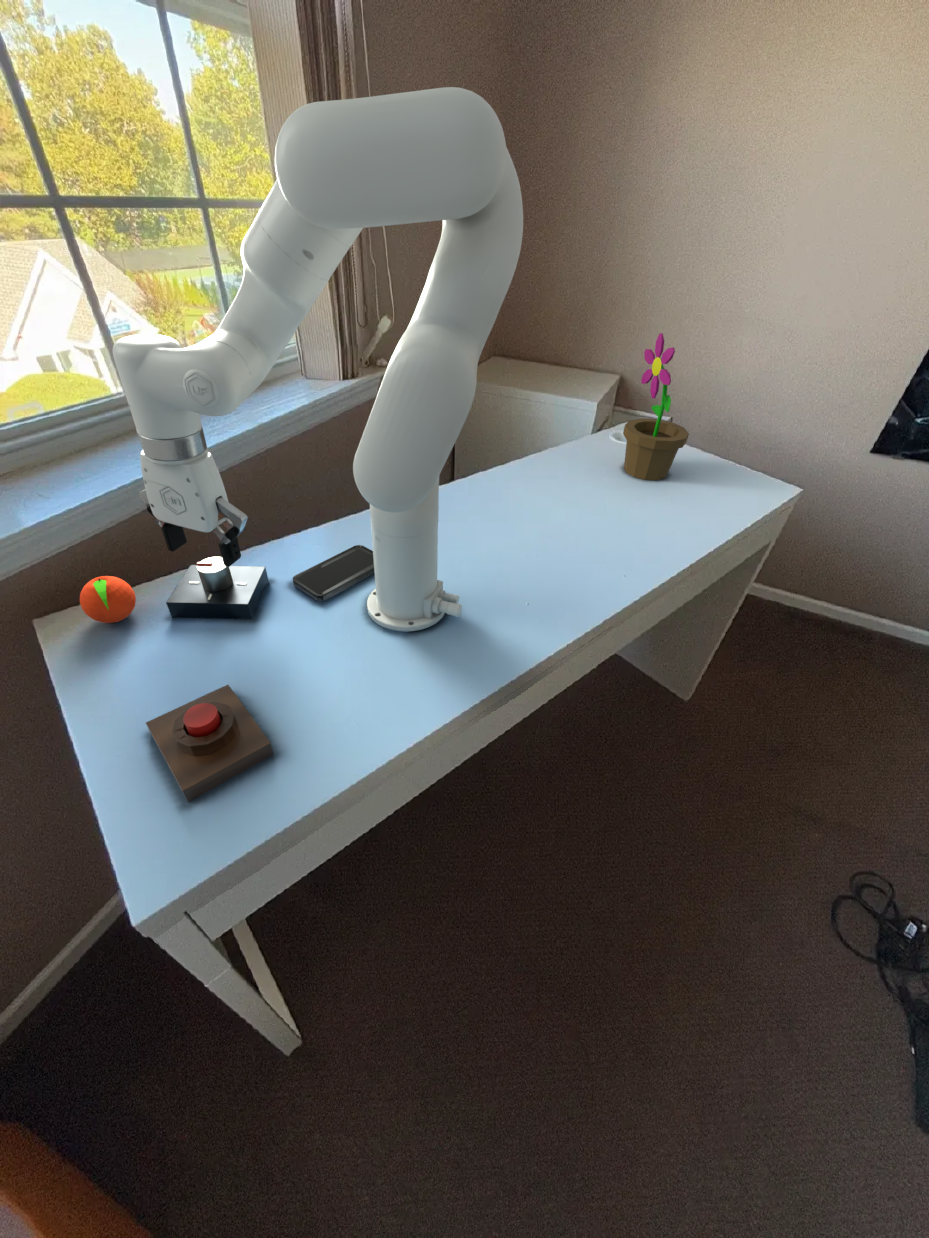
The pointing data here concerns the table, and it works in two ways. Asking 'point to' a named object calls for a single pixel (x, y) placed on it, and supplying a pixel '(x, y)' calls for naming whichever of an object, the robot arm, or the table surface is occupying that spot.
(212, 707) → the button
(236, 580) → the panel
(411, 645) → the table surface
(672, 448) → the flowerpot
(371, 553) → the phone
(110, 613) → the clementine
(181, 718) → the button block
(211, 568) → the hob knob
